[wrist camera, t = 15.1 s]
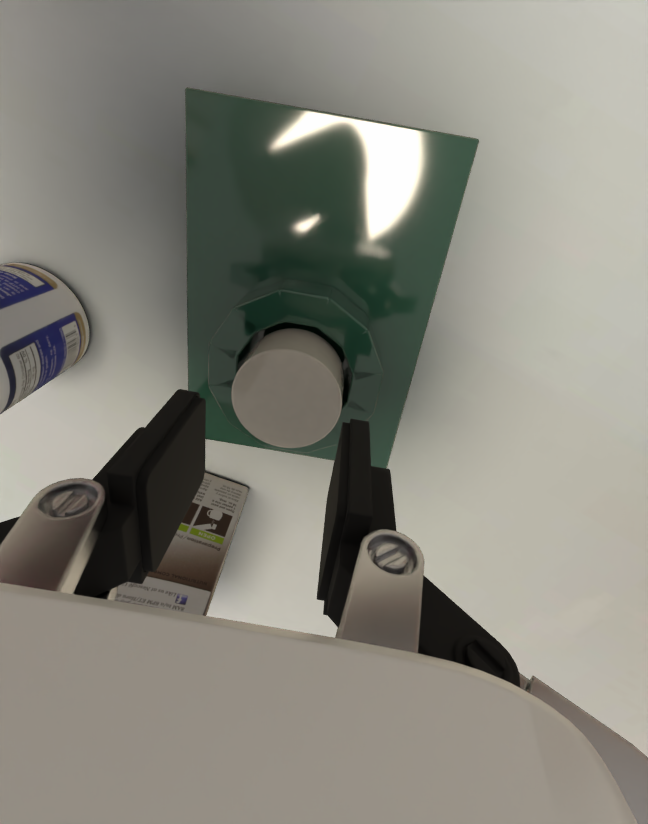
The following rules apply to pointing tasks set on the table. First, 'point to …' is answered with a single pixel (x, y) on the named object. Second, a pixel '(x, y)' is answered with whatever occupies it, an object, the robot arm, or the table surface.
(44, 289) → the pill bottle
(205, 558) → the coffee box
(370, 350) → the green push button box
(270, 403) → the beige short cylinder
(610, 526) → the table surface
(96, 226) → the table surface
